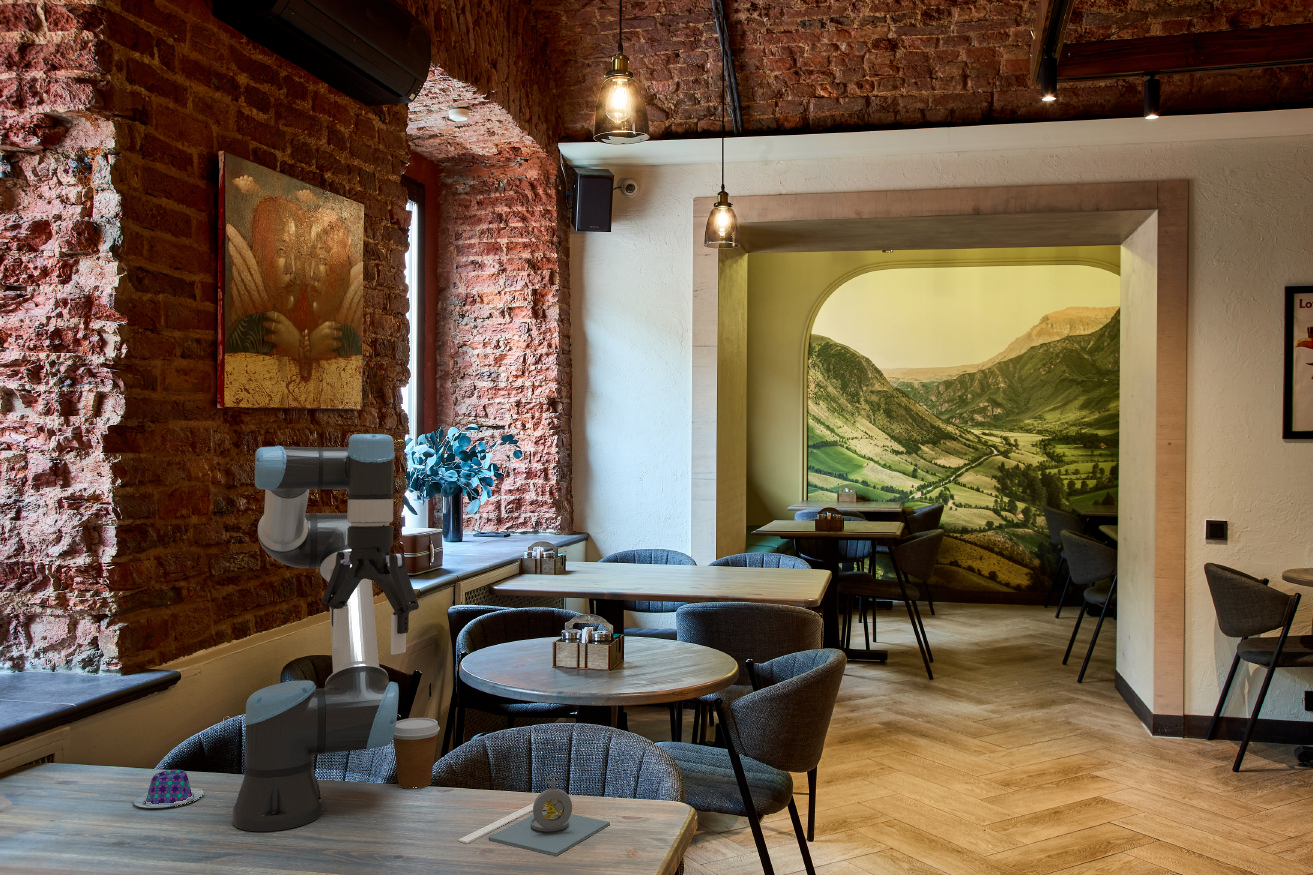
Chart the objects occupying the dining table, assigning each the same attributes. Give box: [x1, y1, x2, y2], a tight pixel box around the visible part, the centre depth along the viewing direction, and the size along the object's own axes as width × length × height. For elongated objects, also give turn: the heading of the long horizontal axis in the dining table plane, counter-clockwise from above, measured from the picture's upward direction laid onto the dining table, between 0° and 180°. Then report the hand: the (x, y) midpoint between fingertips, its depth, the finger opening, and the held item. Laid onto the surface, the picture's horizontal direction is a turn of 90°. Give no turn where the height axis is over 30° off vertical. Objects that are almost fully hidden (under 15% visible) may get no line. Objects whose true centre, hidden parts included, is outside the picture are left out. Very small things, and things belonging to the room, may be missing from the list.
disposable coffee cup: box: [392, 717, 441, 790], centre depth 190 cm, size 10×10×12 cm
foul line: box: [457, 802, 546, 845], centre depth 169 cm, size 2×22×1 cm, turn 151°
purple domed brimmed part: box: [146, 769, 205, 807], centre depth 181 cm, size 12×12×5 cm
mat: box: [487, 808, 611, 857], centre depth 164 cm, size 14×16×1 cm
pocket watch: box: [530, 774, 573, 832], centre depth 164 cm, size 8×8×10 cm
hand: (368, 649), depth 162 cm, fingers open, 13 cm apart
